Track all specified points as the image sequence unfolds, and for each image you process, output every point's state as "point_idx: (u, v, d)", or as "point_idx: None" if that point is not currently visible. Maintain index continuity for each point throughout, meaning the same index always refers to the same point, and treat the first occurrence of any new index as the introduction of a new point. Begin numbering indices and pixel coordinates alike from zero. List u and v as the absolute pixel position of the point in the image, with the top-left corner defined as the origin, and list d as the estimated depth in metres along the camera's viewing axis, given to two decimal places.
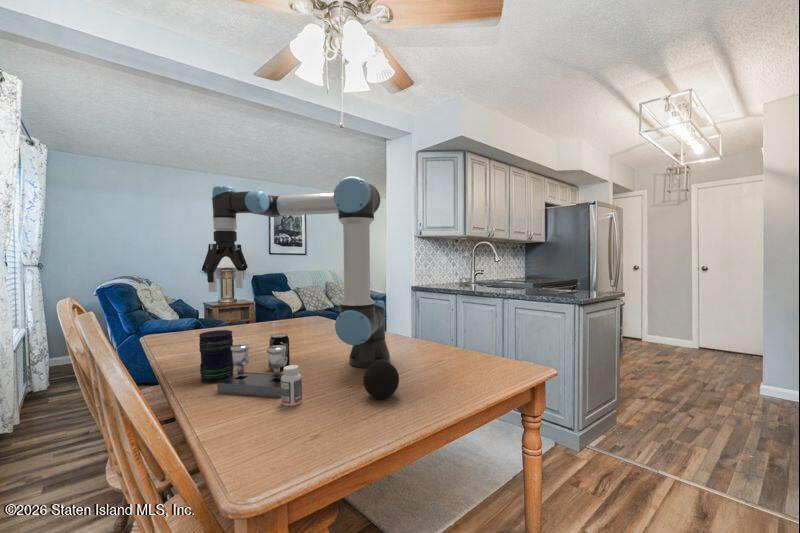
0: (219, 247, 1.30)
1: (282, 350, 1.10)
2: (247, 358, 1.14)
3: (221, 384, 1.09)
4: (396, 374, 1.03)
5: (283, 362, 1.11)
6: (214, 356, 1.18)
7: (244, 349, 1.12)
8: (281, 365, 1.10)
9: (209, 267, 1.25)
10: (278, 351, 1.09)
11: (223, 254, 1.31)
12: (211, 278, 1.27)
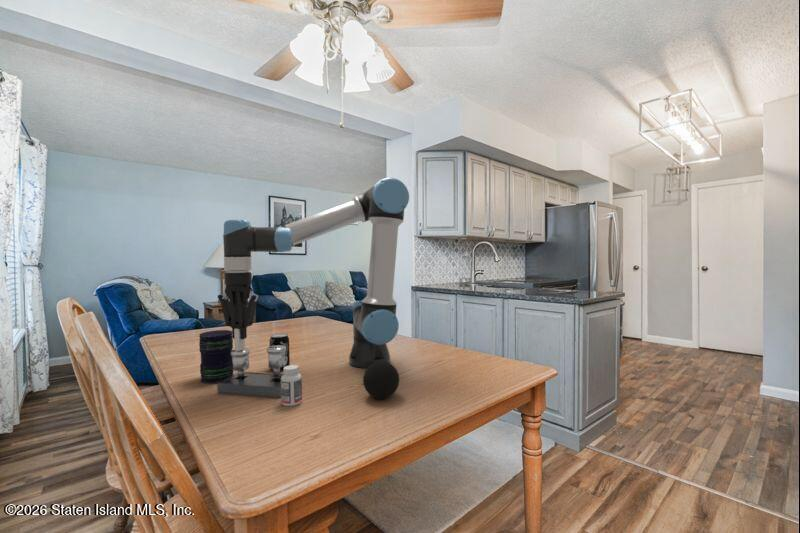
0: (226, 293, 1.13)
1: (282, 350, 1.10)
2: (247, 363, 1.14)
3: (221, 384, 1.09)
4: (396, 374, 1.03)
5: (283, 362, 1.11)
6: (213, 356, 1.18)
7: (244, 354, 1.12)
8: (281, 365, 1.10)
9: (226, 322, 1.13)
10: (278, 351, 1.09)
11: (231, 302, 1.12)
12: (233, 334, 1.13)
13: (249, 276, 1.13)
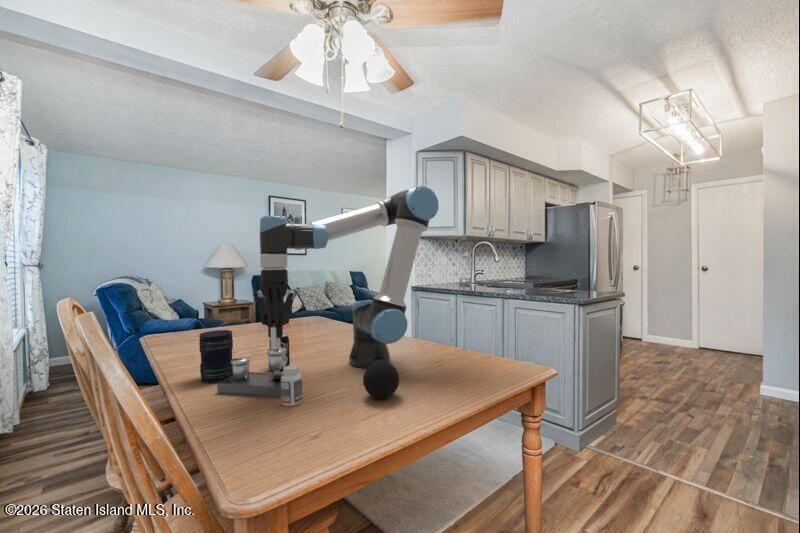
0: (262, 291, 1.11)
1: (282, 352, 1.10)
2: (247, 371, 1.14)
3: (221, 384, 1.09)
4: (396, 374, 1.03)
5: (283, 364, 1.11)
6: (214, 356, 1.18)
7: (244, 363, 1.12)
8: (281, 367, 1.10)
9: (262, 320, 1.11)
10: (278, 353, 1.09)
11: (267, 300, 1.10)
12: (269, 333, 1.11)
13: (286, 273, 1.10)
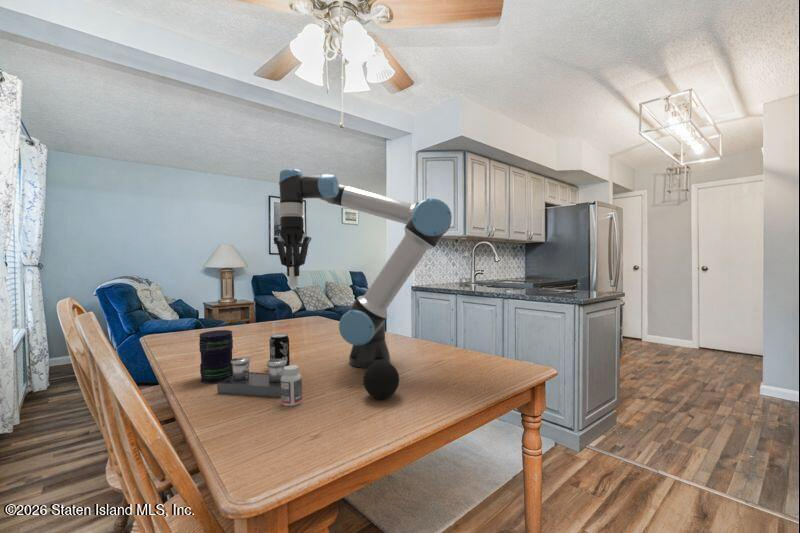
0: (281, 236, 1.27)
1: (282, 364, 1.10)
2: (247, 371, 1.14)
3: (221, 384, 1.09)
4: (396, 374, 1.03)
5: None
6: (214, 356, 1.18)
7: (244, 363, 1.12)
8: None
9: (282, 261, 1.27)
10: (278, 364, 1.09)
11: (286, 243, 1.26)
12: (288, 272, 1.28)
13: (302, 220, 1.27)
